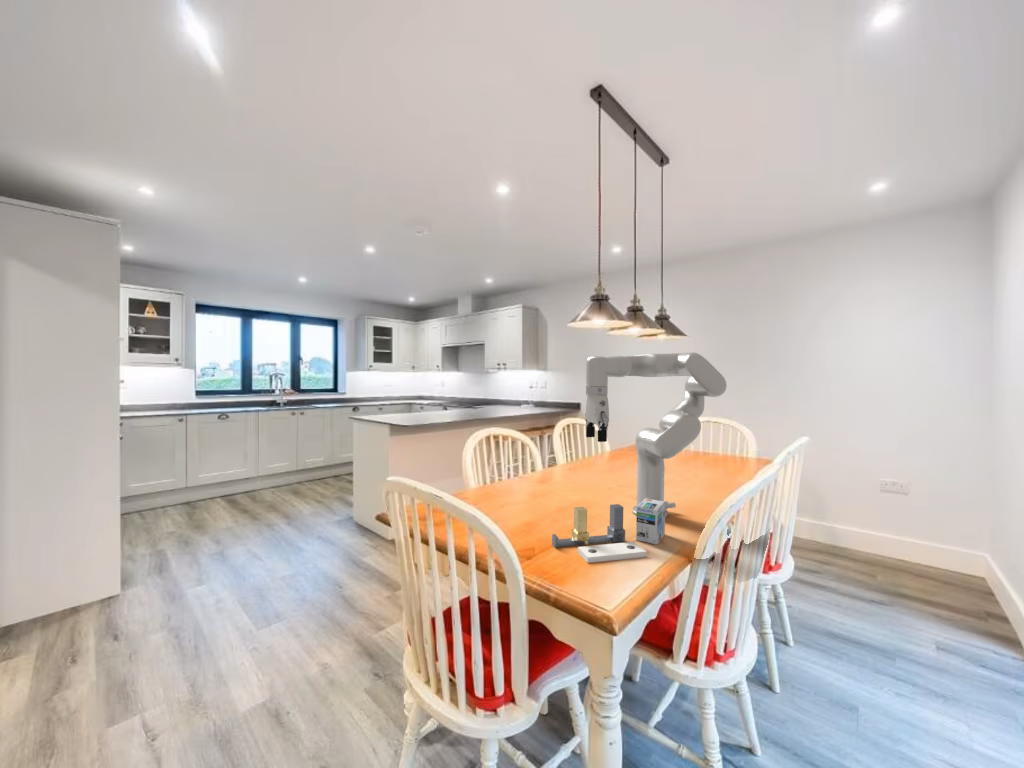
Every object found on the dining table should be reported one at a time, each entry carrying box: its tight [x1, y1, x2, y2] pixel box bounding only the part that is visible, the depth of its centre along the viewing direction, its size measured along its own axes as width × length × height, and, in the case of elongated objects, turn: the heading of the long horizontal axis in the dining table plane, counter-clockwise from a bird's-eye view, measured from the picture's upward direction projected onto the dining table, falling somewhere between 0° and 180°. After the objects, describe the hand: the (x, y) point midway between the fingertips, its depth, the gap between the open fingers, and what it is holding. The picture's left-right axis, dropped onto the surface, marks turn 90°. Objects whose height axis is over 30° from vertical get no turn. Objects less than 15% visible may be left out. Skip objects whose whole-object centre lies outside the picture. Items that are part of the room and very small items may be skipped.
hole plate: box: [577, 541, 647, 564], centre depth 122 cm, size 18×7×2 cm, turn 103°
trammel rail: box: [551, 503, 626, 549], centre depth 128 cm, size 22×7×11 cm, turn 103°
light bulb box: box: [635, 498, 666, 546], centre depth 135 cm, size 11×7×11 cm, turn 148°
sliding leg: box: [571, 506, 590, 545], centre depth 128 cm, size 4×7×9 cm, turn 13°
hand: (596, 439), depth 151 cm, fingers open, 9 cm apart
